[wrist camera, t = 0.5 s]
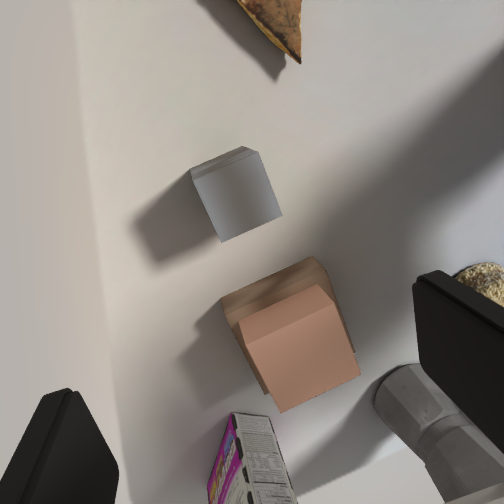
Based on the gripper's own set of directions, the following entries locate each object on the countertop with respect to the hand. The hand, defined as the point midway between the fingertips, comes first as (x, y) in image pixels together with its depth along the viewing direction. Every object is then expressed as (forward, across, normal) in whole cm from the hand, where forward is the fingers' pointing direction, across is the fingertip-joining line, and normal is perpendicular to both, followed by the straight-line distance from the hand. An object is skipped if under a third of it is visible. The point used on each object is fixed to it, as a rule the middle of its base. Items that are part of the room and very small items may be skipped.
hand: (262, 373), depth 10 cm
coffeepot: (+25, -17, +29) cm, 42 cm away
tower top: (+22, -4, +14) cm, 26 cm away
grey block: (+25, -2, 0) cm, 25 cm away
